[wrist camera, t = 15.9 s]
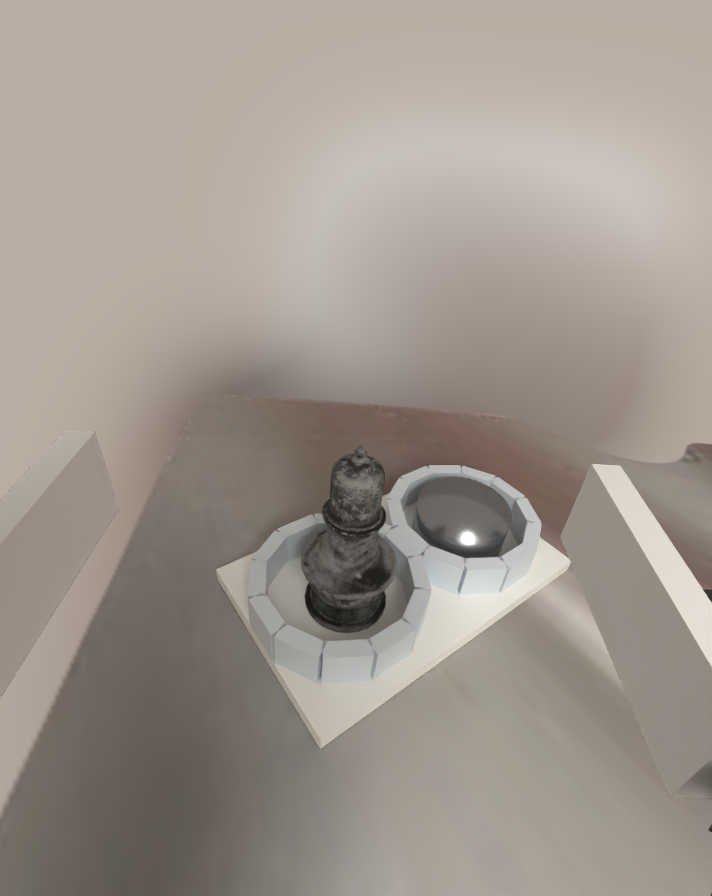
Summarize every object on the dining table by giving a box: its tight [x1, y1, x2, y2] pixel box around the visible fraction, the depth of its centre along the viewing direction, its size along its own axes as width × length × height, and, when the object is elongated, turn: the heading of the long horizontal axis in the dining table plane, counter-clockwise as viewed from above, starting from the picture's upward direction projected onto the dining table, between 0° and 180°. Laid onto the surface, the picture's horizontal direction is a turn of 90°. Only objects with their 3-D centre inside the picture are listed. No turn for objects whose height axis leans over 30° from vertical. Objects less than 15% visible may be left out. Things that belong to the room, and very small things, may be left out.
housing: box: [216, 465, 571, 749], centre depth 34 cm, size 22×13×4 cm, turn 126°
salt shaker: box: [301, 446, 397, 633], centre depth 28 cm, size 6×6×12 cm
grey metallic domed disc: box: [412, 477, 512, 558], centre depth 36 cm, size 7×7×3 cm
